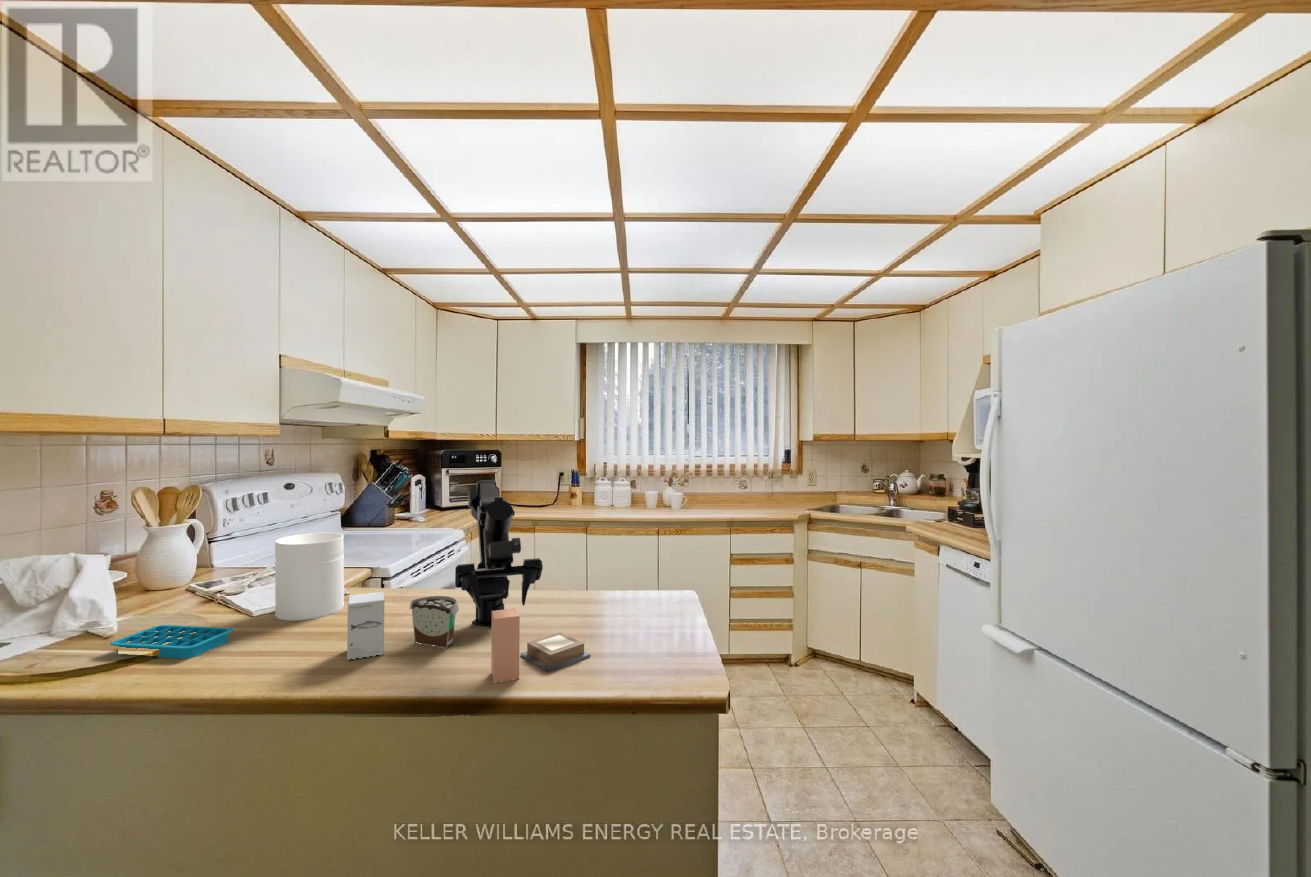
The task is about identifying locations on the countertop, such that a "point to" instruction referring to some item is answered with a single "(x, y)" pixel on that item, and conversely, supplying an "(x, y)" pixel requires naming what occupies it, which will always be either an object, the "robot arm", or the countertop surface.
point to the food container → (434, 620)
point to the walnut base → (555, 651)
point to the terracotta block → (505, 645)
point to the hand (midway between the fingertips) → (502, 607)
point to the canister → (309, 576)
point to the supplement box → (365, 625)
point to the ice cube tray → (177, 640)
